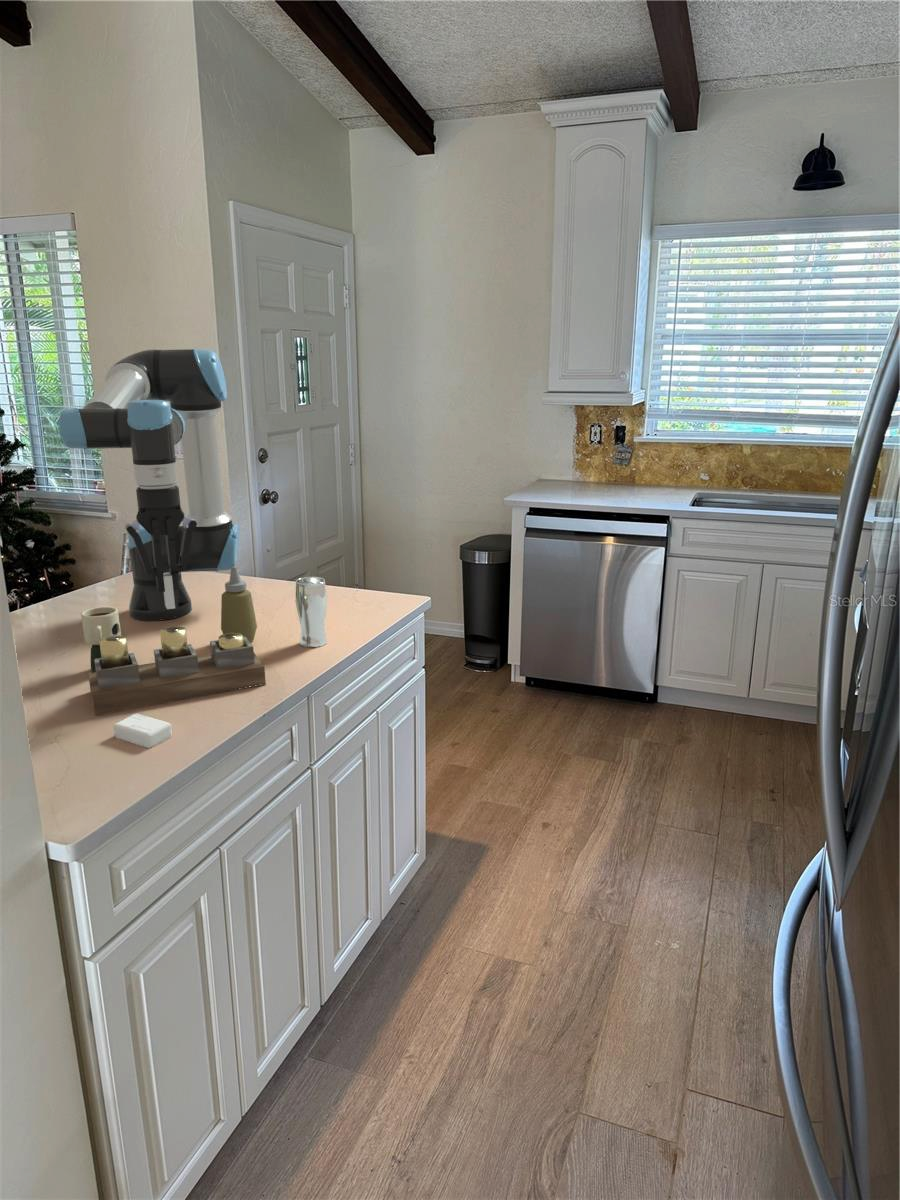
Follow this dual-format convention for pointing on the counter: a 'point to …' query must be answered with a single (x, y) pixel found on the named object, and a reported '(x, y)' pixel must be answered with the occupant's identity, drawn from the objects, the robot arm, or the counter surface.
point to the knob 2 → (230, 641)
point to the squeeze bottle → (237, 608)
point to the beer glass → (311, 610)
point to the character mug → (99, 628)
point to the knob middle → (174, 642)
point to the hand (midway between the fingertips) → (170, 606)
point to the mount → (174, 677)
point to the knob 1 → (114, 651)
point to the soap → (142, 730)
